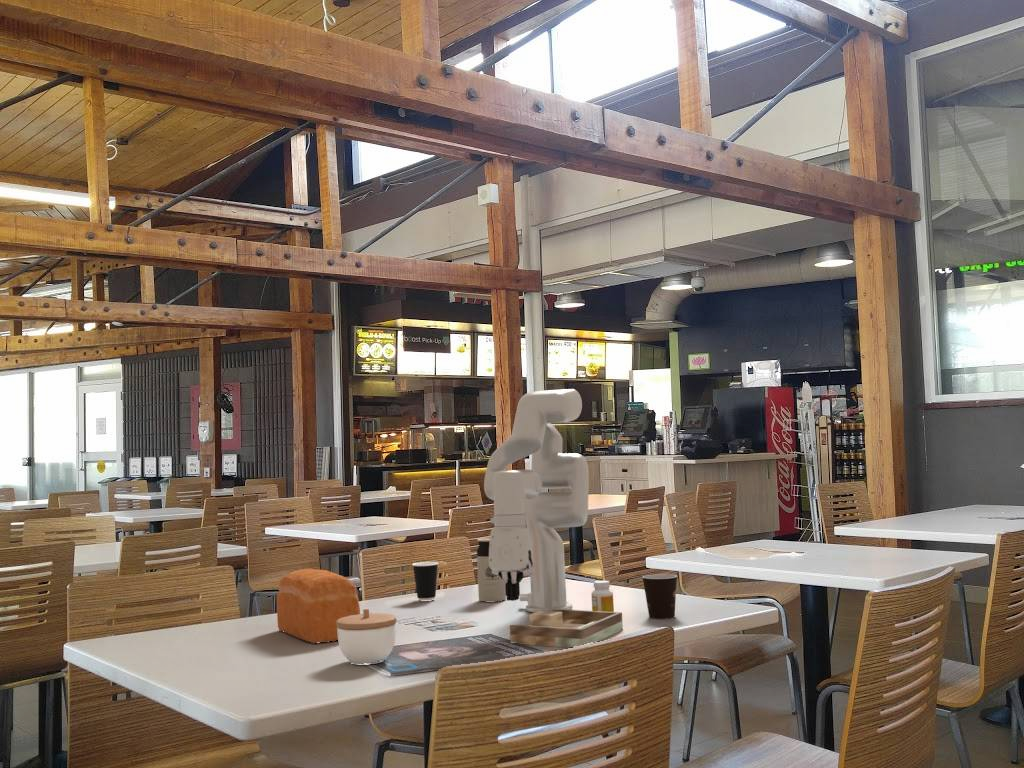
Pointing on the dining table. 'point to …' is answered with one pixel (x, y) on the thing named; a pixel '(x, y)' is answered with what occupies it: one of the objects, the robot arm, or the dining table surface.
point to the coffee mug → (660, 595)
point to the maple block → (546, 619)
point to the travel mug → (488, 575)
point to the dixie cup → (425, 579)
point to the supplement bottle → (602, 597)
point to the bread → (314, 604)
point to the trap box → (570, 629)
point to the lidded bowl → (366, 636)
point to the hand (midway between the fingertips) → (512, 599)
